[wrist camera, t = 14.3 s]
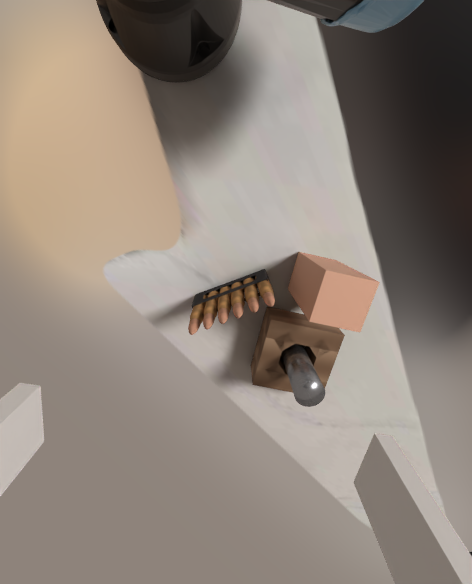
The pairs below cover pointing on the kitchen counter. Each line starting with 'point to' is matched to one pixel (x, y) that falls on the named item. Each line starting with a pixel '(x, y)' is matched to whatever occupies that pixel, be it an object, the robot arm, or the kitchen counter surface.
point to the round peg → (302, 376)
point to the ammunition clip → (230, 300)
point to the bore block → (284, 333)
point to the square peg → (331, 292)
